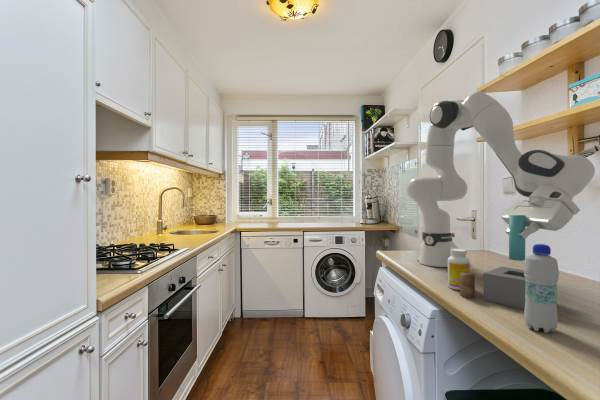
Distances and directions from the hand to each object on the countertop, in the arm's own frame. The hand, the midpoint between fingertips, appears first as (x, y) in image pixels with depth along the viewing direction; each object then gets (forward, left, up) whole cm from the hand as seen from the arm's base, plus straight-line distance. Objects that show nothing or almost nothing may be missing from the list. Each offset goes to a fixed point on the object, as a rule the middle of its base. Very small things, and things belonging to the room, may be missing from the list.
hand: (514, 235), depth 95 cm
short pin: (+6, -11, -19) cm, 23 cm away
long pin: (-1, 0, -7) cm, 7 cm away
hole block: (-1, 0, -19) cm, 19 cm away
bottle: (+17, +11, -20) cm, 29 cm away
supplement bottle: (0, -17, -20) cm, 26 cm away
